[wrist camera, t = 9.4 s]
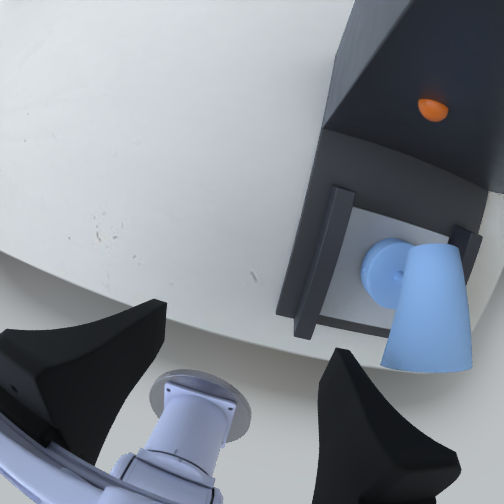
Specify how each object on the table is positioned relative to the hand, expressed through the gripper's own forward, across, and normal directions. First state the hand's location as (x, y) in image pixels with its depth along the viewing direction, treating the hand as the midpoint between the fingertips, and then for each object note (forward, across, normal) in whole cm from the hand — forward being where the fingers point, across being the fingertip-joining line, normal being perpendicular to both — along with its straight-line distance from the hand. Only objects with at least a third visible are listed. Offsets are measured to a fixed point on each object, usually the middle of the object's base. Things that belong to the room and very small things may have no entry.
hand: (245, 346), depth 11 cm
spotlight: (+9, -8, -2) cm, 12 cm away
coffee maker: (+11, -8, -6) cm, 15 cm away
